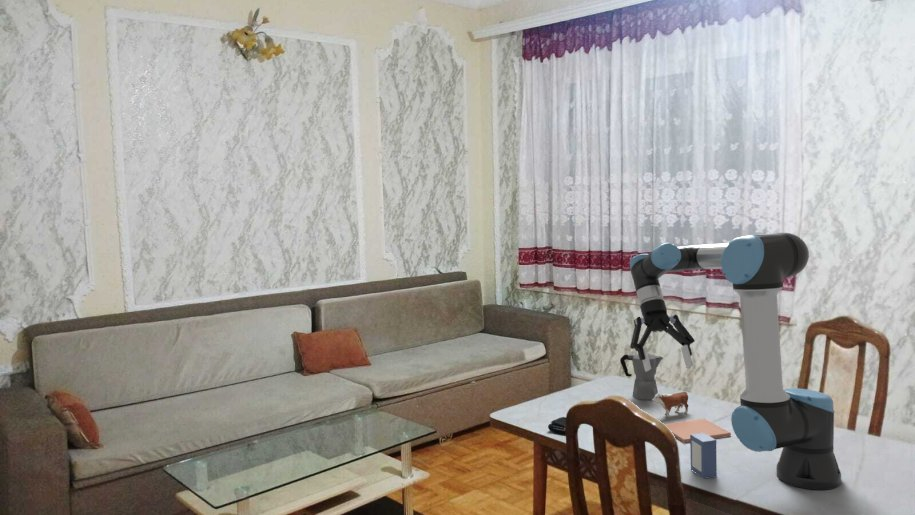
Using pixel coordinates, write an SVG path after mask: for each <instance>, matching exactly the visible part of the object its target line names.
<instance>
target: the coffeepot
mask: <svg viewBox="0 0 915 515" xmlns="http://www.w3.org/2000/svg"><path fill="white" fill-rule="evenodd" d="M648 357H649V361H650V365H651V369H650V370H649V371H647V372H645V369H644V365H643V361H642V360H640V359H639V355H638V353H636V354H623V355H622V357H620V360H619V361H620V362H619V363H620V364H621V368H622V370H623V372H624V375H625V376H626V377H629V378H630V377H632V375H633V374H632V373H629V370H628V367H627V362H626V360H627V361H631V362H632V366H633V371H634V372H633V373H634V374H635V379H634V383H633V392H632V396H633V397H634V398H635V399H638V400H642V401H644V400H645V401H650V400H651V401H652V399H653V398H654V397H655V395H656V394H657V393H659V391H658V385H657V381H656V378H655V375H656V374H657V368H658V367H659V365H660V363H661V361H662V360H664V357H663V356H661V355H656V354H652V353H648Z"/></svg>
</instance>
